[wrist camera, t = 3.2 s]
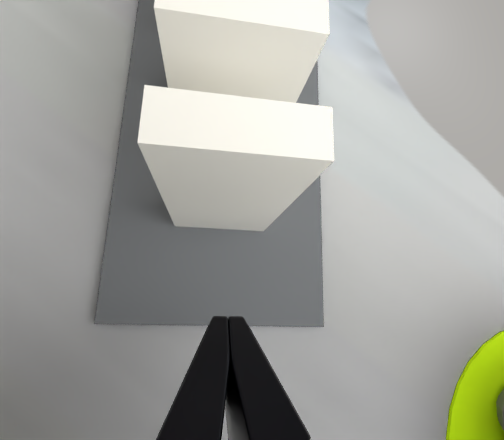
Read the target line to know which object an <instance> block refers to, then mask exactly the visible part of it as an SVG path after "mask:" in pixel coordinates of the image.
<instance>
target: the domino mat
mask: <svg viewBox="0 0 504 440" xmlns="http://www.w3.org/2000/svg"><path fill="white" fill-rule="evenodd" d="M154 2H155V0H139V2H138V9H137V17H136V24H135V31H134V38H133V46H132V53H131V60H130V67H129V75H128V82H127V89H126V97H125V104H124V111H123V118H122V126H121V133H120V140H119V148H118V155H117V162H116V169H115V177H114V184H113V191H112V198H111V206H110V213H109V220H108V228H107V235H106V242H105V249H104V257H103V264H102V271H101V278H100V286H99V293H98V300H97V308H96V315H95V322H94V324H141V325H209V323H210V321H211V319H212V317H213V316H227V317H229V316H242V317H244V319H245V320H246V322H247V324H248V325H249V326H295V327H324V319H323V277H322V235H321V193H320V176H319V177H318V178H317V179H316V180H315V181H314V182H313V183H312V184H311V185H310V186H309V187H308V188H307V189H306V190H305V191H304V192H303V193H302V194H301V195H300V196H299V197H298V198H297V199H295V200H294V201H293V202H292V203H291V204H290V205H289V206H288V207H287V208H286V209H285V210H284V211H283V212H282V213H281V214H280V215H279V216H278V217H277V218H276V219H275V220H274V221H273V222H272V223H271V224H270V225H269V226H268V227H267V228H266V229H265V230H264V231H250V230H232V229H215V228H197V227H180V226H175V225H174V223H173V221H172V219H171V217H170V214H169V212H168V210H167V208H166V205H165V203H164V201H163V199H162V197H161V194H160V192H159V190H158V188H157V185H156V183H155V181H154V179H153V176H152V174H151V172H150V170H149V168H148V165H147V163H146V161H145V159H144V156H143V154H142V152H141V150H140V148H139V145H138V143H137V142H138V134H139V125H140V117H141V109H142V101H143V93H144V85H150V86H158V87H167V88H168V85H167V79H166V74H165V68H164V62H163V57H162V51H161V45H160V40H159V34H158V28H157V23H156V17H155V11H154ZM296 103H302V104H310V105H318V66H317V61H316V63H315V65H314V67H313V69H312V71H311V73H310V75H309V77H308V79H307V81H306V83H305V85H304V87H303V90H302V92H301V94H300V96H299V98H298V100H297V102H296Z"/></svg>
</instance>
